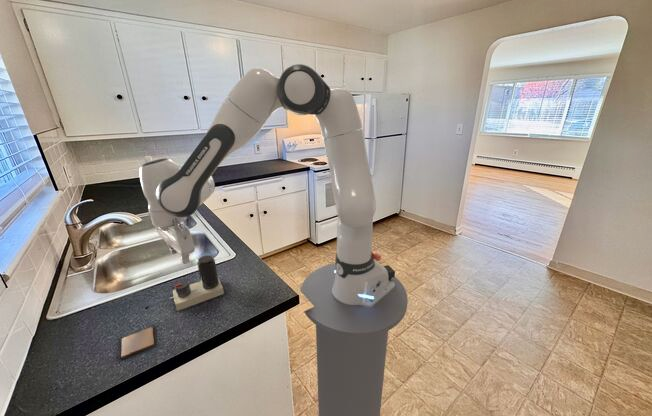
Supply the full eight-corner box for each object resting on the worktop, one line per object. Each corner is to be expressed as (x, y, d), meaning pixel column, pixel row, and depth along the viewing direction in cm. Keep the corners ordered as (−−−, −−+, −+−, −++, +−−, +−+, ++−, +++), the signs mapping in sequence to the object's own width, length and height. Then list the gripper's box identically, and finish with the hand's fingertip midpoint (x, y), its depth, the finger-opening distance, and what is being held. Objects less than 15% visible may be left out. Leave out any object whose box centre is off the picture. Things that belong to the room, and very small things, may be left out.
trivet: (152, 328, 75) (152, 326, 75) (154, 345, 70) (153, 343, 70) (122, 339, 72) (121, 338, 71) (121, 358, 66) (120, 357, 66)
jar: (216, 278, 93) (212, 252, 89) (220, 285, 88) (215, 259, 85) (200, 283, 90) (195, 257, 86) (204, 291, 86) (198, 265, 82)
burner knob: (190, 287, 88) (188, 278, 86) (191, 294, 84) (189, 284, 83) (176, 292, 86) (174, 282, 84) (177, 299, 82) (175, 289, 81)
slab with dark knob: (218, 281, 95) (216, 275, 94) (224, 294, 88) (223, 287, 87) (170, 297, 87) (168, 291, 86) (173, 312, 81) (171, 305, 80)
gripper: (194, 220, 73) (204, 264, 77) (168, 205, 86) (178, 244, 91) (169, 228, 68) (182, 274, 73) (146, 211, 82) (158, 251, 86)
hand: (180, 257), depth 82 cm, fingers open, 8 cm apart
